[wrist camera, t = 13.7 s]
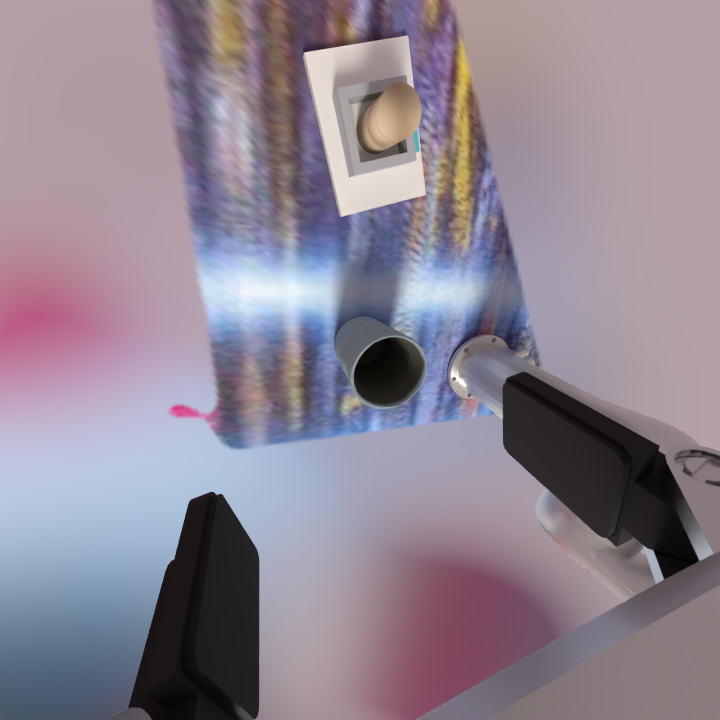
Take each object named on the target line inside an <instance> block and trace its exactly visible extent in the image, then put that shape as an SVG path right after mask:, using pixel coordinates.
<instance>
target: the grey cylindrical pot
mask: <svg viewBox="0 0 720 720" xmlns="http://www.w3.org/2000/svg"><path fill="white" fill-rule="evenodd" d="M335 351H336V354H337V357H338V359H339V361H340V363H341V366H342V368H343V370H344V372H345V373H346V375H347V378H348V380H349V382H350V385H351V387H352V389H353V392H354V394H355V395H356V397H357V398H358V399H359V400H360V401H361V402H363V403H364V404H366V405H367V406H370V407H374V408H378V409H387V408H392V407H396V406H398V405H401V404H403V403H404V402H406V401H408V400H409V399H410V398H411V397H412V396H413V395H414V394H415V393H416V392H417V391H418V390H419V388H420V387H421V385H422V383H423V381H424V378H425V375H426V370H427V360H426V356H425V353H424V351H423V349H422V347H421V346H420V345H419V344H418V342H416V341H415V340H413V339H412V338H410V337H408V336H406V335H404V334H402V333H400V332H398V331H397V330H395V329H393V328H391V327H389V326H387V325H386V324H384V323H382V322H380V321H378V320H376V319H374V318H372V317H369V316H357V317H355V318H352V319H350V320H349V321H347V322H346V323H345V324H343V326H341V328H340V329H339V331H338V332H337V334H336V338H335Z"/></svg>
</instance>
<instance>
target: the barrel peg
mask: <svg viewBox="0 0 720 720" xmlns="http://www.w3.org/2000/svg"><path fill="white" fill-rule="evenodd" d="M421 114H422V108H421V102H420V99H419V96H418V94H417V92H416V91H415V90H414V88H413V87H411V86H410V85H409V84H407V83H403V82H397V83H394V84H392V85H391V86H389V87H388V88H387V89H386V90H385V91H384V92H383V93H382V94H381V95H380V96H379V97H378V99H377V100H376V101H375V102H374V103H373V104H372V105H371V106H370V107H369V108H368V109H367V110H366V111H365V112H364V113H363V114H362V115H361V116H360V118H359V120H358V123H357V127H356V134H357V139H358V142H359V144H360V145H361V147H362V148H363V149H364V150H365V151H366V152H368V153H371V154H378V153H381V152H383V151H384V150H386V149H388V148H390V147H391V146H393V145H395V144H397V143H398V142H400V141H402V140H404V139H406V138H407V137H409V136H411V135H412V134H413V133H414V132H415V131H416V129H417V128H418V126H419V123H420V120H421Z"/></svg>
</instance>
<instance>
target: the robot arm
mask: <svg viewBox="0 0 720 720" xmlns="http://www.w3.org/2000/svg"><path fill="white" fill-rule="evenodd" d="M528 354H529V352H528V350H527V349H526V348H524V349H521V350H519V351H517V352H514V351H512V350H510V349H509V348H508V345H507V344H506V343H505V341H504V340H502V339H501V338H499V337H497V336H495V335H492V334H481V335H477V336H475V337H472V338H471V339H469V340H467V341H466V342H465V343H463V344H462V345H461V346H460V347H459V348H458V349H457V351H456V352H455V354H454V355H453V357H452V359H451V361H450V364H449V367H448V381H449V385H450V386H451V388H452V389H453V391H454V392H455V393H457V394H458V395H459V396H461V397H463V398H468V399H474V398H476V399H478V400H479V401H480V402H481V403H483V404H484V405H485V406H486V407H488V408H489V409H490V410H491V411H493V412H494V413H495V414H496V415H498V416H499V417H500V418H501V419H503V444H504V447H505V449H506V450H507V452H508V453H509V454H510V455H511V456H512V457H513V458H514V459H515V460H516V461H517V462H519V463H520V464H521V465H522V466H523V467H524V468H525V469H526V470H527V471H528V472H529V473H531V474H532V475H533V476H534V477H535V478H536V479H537V480H538V481H539V482H540V483H541V484H543V485H544V486H545V487H546V488H545V490H544V491H543V492H542V494H541V495H540V497H539V499H538V501H537V503H536V509H535V512H536V516H537V519H538V521H539V523H540V525H541V526H542V528H543V529H544V530H545V532H546V533H547V534H548V535H549V536H550V537H551V538H552V539H553V540H554V541H555V542H556V543H557V544H558V545H559V546H560V547H561V548H562V549H563V550H565V552H567V553H568V554H569V555H570V556H571V557H572V558H573V559H574V560H575V561H577V562H578V563H579V564H580V565H581V566H582V567H583V568H585V569H586V570H587V571H588V572H589V573H590V574H592V575H593V576H594V577H595V578H596V579H597V580H598V581H600V582H601V583H602V584H603V585H604V586H605V587H606V588H608V589H609V590H610V591H611V592H612V593H613V594H615V595H616V596H617V597H618V598H619V599H620V600H621V601H622V602H623V603H621V604H619V605H618V606H616V607H614V608H612V609H610V610H609V611H607V612H605V613H603V614H602V615H600V616H598V617H596V618H594V619H592V620H591V621H589V622H587V623H585V624H583V625H582V626H580V627H578V628H576V629H575V630H573V631H571V632H569V633H567V634H566V635H564V636H562V637H560V638H559V639H557V640H555V641H553V642H551V643H550V644H548V645H546V646H544V647H543V648H541V649H539V650H537V651H536V652H534V653H532V654H530V655H528V656H527V657H525V658H523V659H521V660H520V661H518V662H516V663H514V664H512V665H511V666H509V667H507V668H506V669H504V670H502V671H500V672H498V673H497V674H495V675H493V676H491V677H490V678H488V679H486V680H484V681H483V682H481V683H479V684H477V685H475V686H474V687H472V688H470V689H468V690H467V691H465V692H463V693H461V694H460V695H458V696H456V697H454V698H452V699H451V700H449V701H447V702H445V703H444V704H442V705H440V706H438V707H437V708H435V709H433V710H431V711H430V712H428V713H426V714H425V715H423V716H421V717H419V718H417V719H416V720H720V451H717V450H713V449H710V448H707V447H701V446H700V445H699V444H698V443H697V442H696V441H695V440H694V439H692V438H691V437H690V436H689V435H687V434H686V433H684V432H682V431H680V430H679V429H677V428H675V427H673V426H671V425H669V424H666V423H663V422H661V421H659V420H656V419H653V418H651V417H648V416H645V415H642V414H639V413H637V412H634V411H631V410H628V409H625V408H622V407H620V406H617V405H615V404H612V403H610V402H607V401H604V400H602V399H600V398H598V397H596V396H594V395H592V394H590V393H588V392H585V391H583V390H581V389H579V388H577V387H575V386H573V385H571V384H569V383H567V382H565V381H563V380H561V379H559V378H557V377H555V376H554V375H552V374H550V373H548V372H546V371H544V370H542V369H540V368H538V367H536V366H535V361H534V359H533V358H532V357H528V358H525V359H521V358H522V357H525V356H527V355H528ZM643 548H644V550H645V553H646V555H644V554H642V553H641V552H640V551H641V550H642V549H643ZM258 711H259V555H258V552H257V549H256V547H255V545H254V544H253V542H252V541H251V539H250V538H249V536H248V534H247V533H246V531H245V530H244V528H243V527H242V525H241V523H240V522H239V520H238V518H237V517H236V515H235V514H234V512H233V510H232V509H231V507H230V506H229V504H228V503H227V501H226V499H225V498H224V497H223V495H222V494H219V495H216V494H215V493H214V492H209V493H207V494H204V495H202V496H199V497H196V498H194V499H192V500H190V502H189V504H188V508H187V512H186V515H185V520H184V523H183V527H182V532H181V535H180V539H179V543H178V547H177V551H176V555H175V559H174V560H172V561H171V562H170V563H169V565H168V566H167V569H166V572H165V575H164V579H163V583H162V586H161V590H160V593H159V597H158V601H157V604H156V608H155V612H154V615H153V619H152V623H151V626H150V630H149V634H148V638H147V641H146V645H145V649H144V652H143V656H142V660H141V663H140V667H139V671H138V675H137V678H136V682H135V685H134V690H133V693H132V697H131V700H130V704H129V707H128V709H126V710H123V711H121V712H119V713H117V714H116V715H114V716H113V717H112V718H110V719H109V720H254V719H256V717H257V716H258Z"/></svg>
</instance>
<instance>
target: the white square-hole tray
mask: <svg viewBox="0 0 720 720" xmlns="http://www.w3.org/2000/svg"><path fill="white" fill-rule="evenodd" d="M303 59H304V64H305V68H306V72H307V77H308V81H309V85H310V90H311V94H312V98H313V103H314V107H315V111H316V116H317V120H318V124H319V129H320V133H321V137H322V142H323V146H324V150H325V155H326V159H327V163H328V167H329V172H330V176H331V180H332V185H333V189H334V193H335V198H336V202H337V206H338V211H339V215H340V217H342V216H346V215H350V214H354V213H357V212H361V211H365V210H369V209H373V208H377V207H381V206H384V205H388V204H392V203H396V202H400V201H404V200H407V199H411V198H415V197H419V196H423V195H426V193H425V184H424V175H423V166H422V157H421V148H420V139H419V129H418V128H417V129H416V131H415V132H414V133H413V134H412V135H411V136H409V137H407V138H406V139H404V140H402V141H400V142H398V143H397V144H395V145H393V146H391V147H390V148H388V149H386V150H384V151H383V152H381V153H378V154H371V153H368V152H366V151H365V150H364V149H363V148H362V147H361V145H360V144H359V142H358V139H357V134H356V127H357V123H358V120H359V118H360V116H361V115H362V114H363V113H364V112H365V111H366V110H367V109H368V108H369V107H370V106H371V105H372V104H373V103H374V102H375V101H376V100H377V99H378V97H379V96H380V95H381V94H382V93H383V92H384V91H385V90H386V89H387V88H388V87H389V86H391V85H392V84H394V83H397V82H403V83H407V84H409V85H410V86H411V87H413V88H414V84H413V75H412V66H411V57H410V48H409V39H408V35H407V36H401V37H395V38H389V39H383V40H377V41H371V42H365V43H359V44H353V45H347V46H341V47H335V48H329V49H322V50H316V51H310V52H304V55H303Z"/></svg>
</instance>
